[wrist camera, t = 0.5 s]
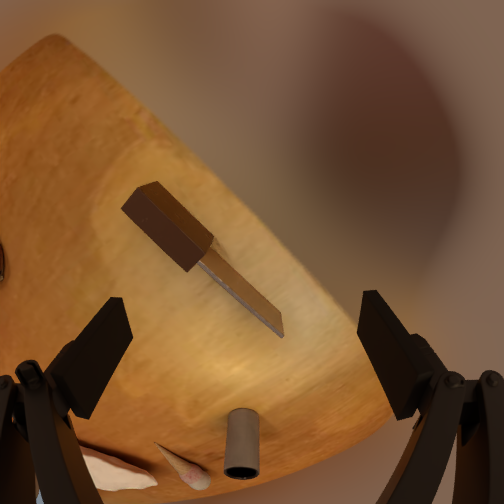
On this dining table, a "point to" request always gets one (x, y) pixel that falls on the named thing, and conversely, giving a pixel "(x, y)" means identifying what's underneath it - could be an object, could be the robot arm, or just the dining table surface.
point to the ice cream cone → (187, 471)
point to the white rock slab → (115, 472)
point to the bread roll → (1, 263)
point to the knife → (193, 247)
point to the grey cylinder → (242, 445)
